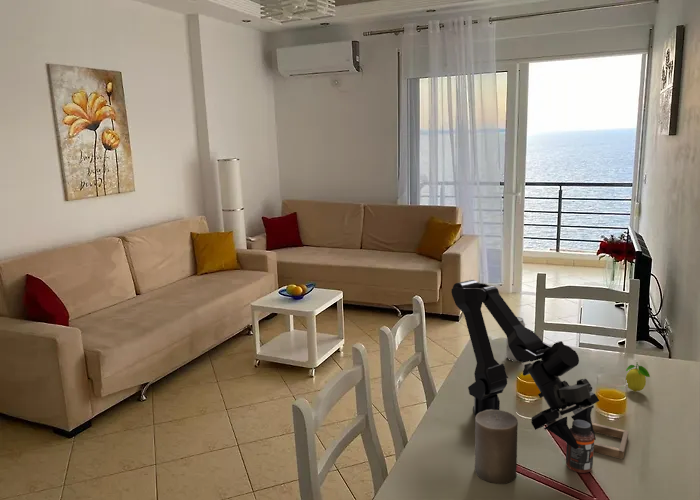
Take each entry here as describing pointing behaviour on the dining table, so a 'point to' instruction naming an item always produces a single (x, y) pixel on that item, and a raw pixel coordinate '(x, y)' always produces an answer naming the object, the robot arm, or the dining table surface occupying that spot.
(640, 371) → the lemon
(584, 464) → the supplement bottle
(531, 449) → the dining table surface
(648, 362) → the dining table surface
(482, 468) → the pillar candle
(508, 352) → the energy drink can
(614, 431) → the bay
